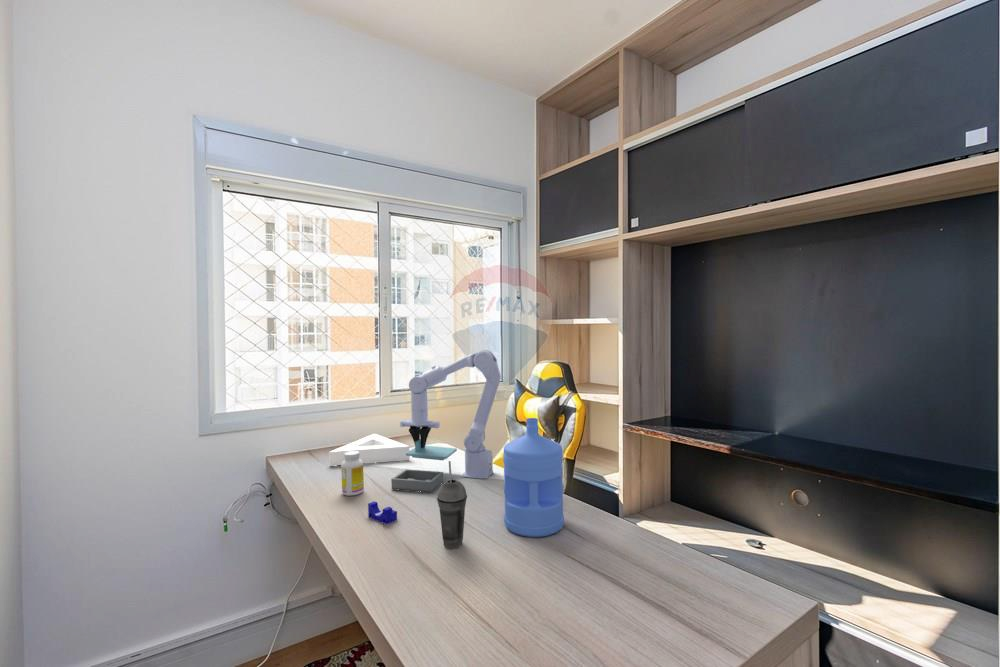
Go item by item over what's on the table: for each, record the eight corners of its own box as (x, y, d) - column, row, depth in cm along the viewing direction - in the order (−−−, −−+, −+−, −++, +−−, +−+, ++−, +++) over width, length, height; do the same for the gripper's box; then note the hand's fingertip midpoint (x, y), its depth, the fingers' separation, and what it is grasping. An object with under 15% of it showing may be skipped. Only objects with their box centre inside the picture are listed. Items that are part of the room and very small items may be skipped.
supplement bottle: (367, 489, 149) (366, 450, 149) (358, 496, 143) (357, 455, 143) (347, 488, 150) (346, 449, 150) (338, 496, 143) (337, 455, 143)
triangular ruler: (329, 468, 174) (329, 451, 174) (339, 450, 199) (338, 435, 199) (409, 462, 180) (409, 446, 180) (409, 445, 205) (408, 431, 205)
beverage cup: (444, 554, 106) (442, 469, 105) (433, 541, 112) (431, 460, 112) (473, 547, 109) (471, 464, 109) (461, 534, 116) (459, 456, 115)
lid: (456, 453, 166) (456, 438, 166) (445, 462, 155) (445, 446, 155) (419, 449, 169) (419, 435, 169) (405, 458, 159) (406, 443, 159)
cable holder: (396, 520, 125) (396, 506, 125) (386, 525, 123) (386, 510, 123) (378, 513, 130) (378, 499, 130) (368, 517, 128) (368, 503, 127)
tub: (443, 482, 154) (443, 472, 154) (431, 493, 145) (431, 482, 145) (405, 479, 158) (405, 469, 158) (391, 489, 148) (391, 479, 148)
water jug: (505, 512, 129) (503, 413, 128) (561, 512, 128) (559, 413, 127) (502, 538, 113) (500, 426, 113) (566, 538, 112) (564, 425, 112)
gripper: (395, 411, 161) (396, 449, 162) (433, 412, 157) (434, 451, 158) (404, 407, 168) (405, 444, 168) (441, 408, 164) (442, 446, 165)
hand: (420, 447), depth 164 cm, fingers closed on lid
